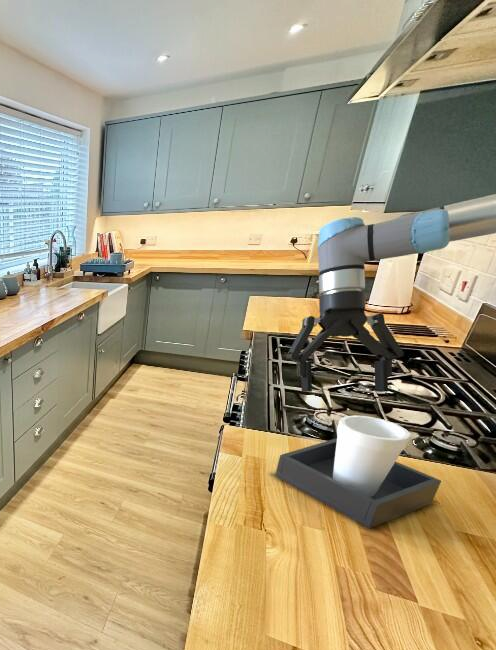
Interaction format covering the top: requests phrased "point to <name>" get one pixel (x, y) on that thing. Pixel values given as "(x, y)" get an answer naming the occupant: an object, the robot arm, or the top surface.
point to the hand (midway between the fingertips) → (343, 391)
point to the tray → (388, 503)
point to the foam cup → (367, 451)
